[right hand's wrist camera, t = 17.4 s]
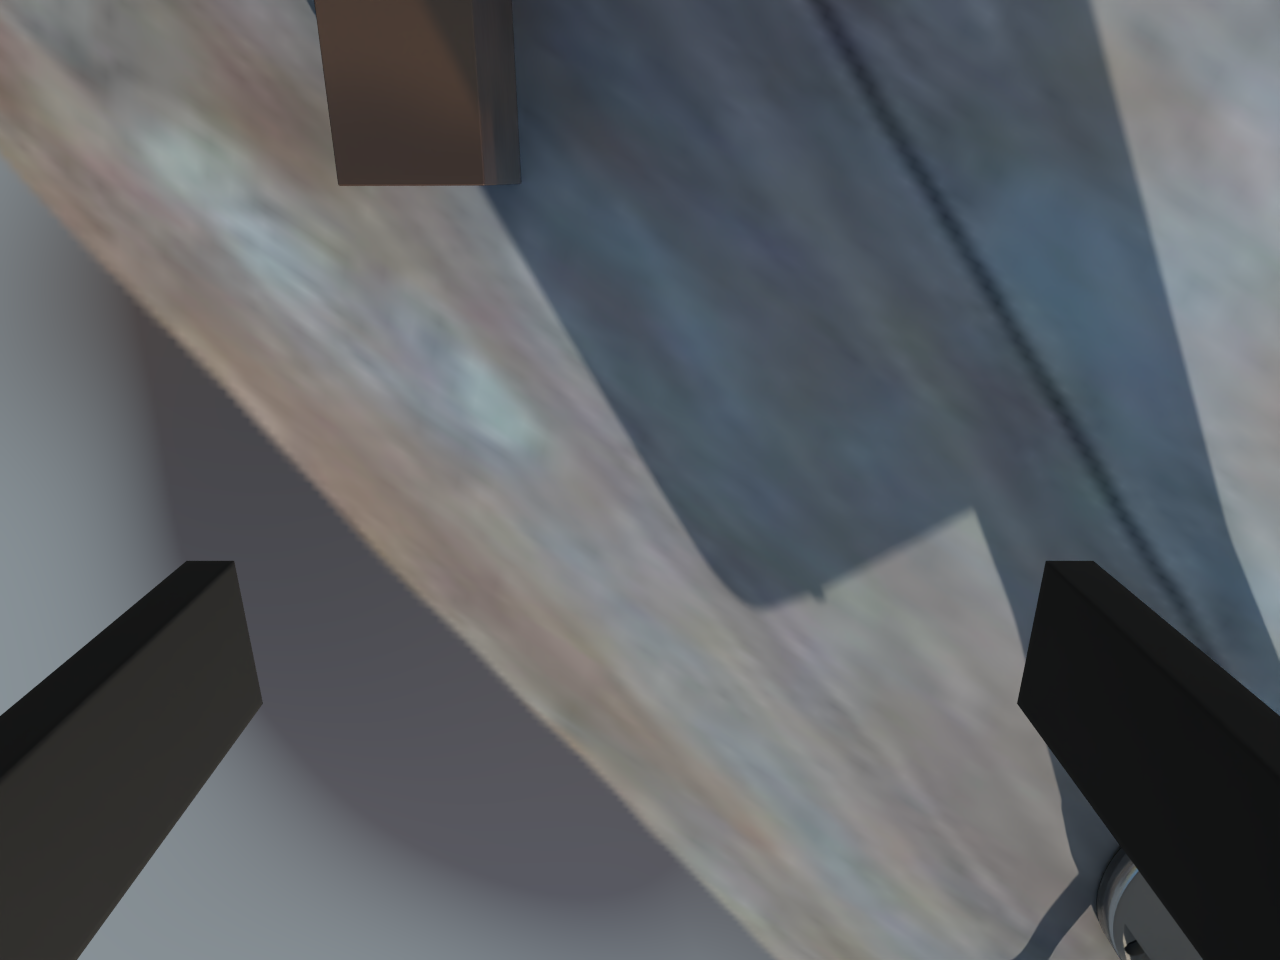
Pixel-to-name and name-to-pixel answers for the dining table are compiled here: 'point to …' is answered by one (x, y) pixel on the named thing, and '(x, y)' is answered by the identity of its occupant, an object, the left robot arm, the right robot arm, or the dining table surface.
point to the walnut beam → (421, 91)
